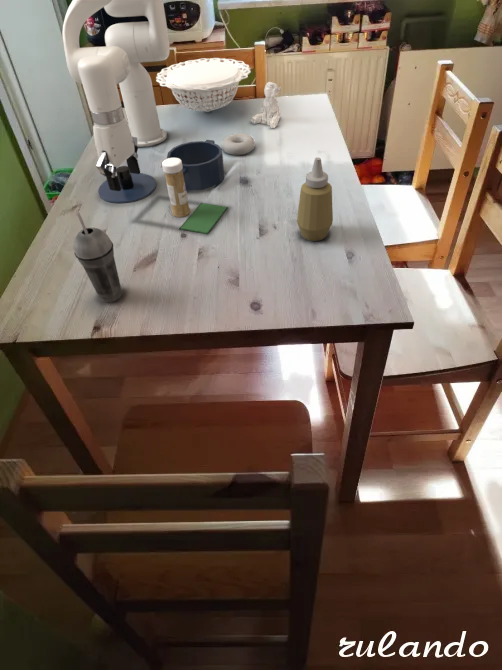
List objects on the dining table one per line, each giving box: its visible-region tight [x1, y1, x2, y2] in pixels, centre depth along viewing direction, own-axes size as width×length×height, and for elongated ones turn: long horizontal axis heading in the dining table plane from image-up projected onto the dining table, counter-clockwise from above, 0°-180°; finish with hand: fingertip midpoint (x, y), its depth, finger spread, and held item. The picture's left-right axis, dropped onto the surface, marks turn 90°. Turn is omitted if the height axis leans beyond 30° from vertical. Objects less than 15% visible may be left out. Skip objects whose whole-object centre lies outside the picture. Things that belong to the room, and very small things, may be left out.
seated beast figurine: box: [251, 81, 282, 129], centre depth 149 cm, size 10×9×12 cm
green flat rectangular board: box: [178, 202, 228, 235], centre depth 115 cm, size 20×12×1 cm, turn 69°
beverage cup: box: [73, 211, 123, 303], centre depth 88 cm, size 7×7×20 cm
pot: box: [166, 139, 226, 192], centre depth 125 cm, size 15×20×7 cm
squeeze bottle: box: [296, 156, 334, 242], centre depth 100 cm, size 8×8×18 cm
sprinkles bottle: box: [161, 158, 191, 218], centre depth 111 cm, size 5×5×14 cm
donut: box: [221, 132, 256, 156], centre depth 138 cm, size 10×3×10 cm
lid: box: [97, 165, 157, 204], centre depth 124 cm, size 16×16×6 cm
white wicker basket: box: [155, 57, 252, 113], centre depth 157 cm, size 32×32×13 cm
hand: (125, 181), depth 124 cm, fingers open, 9 cm apart
